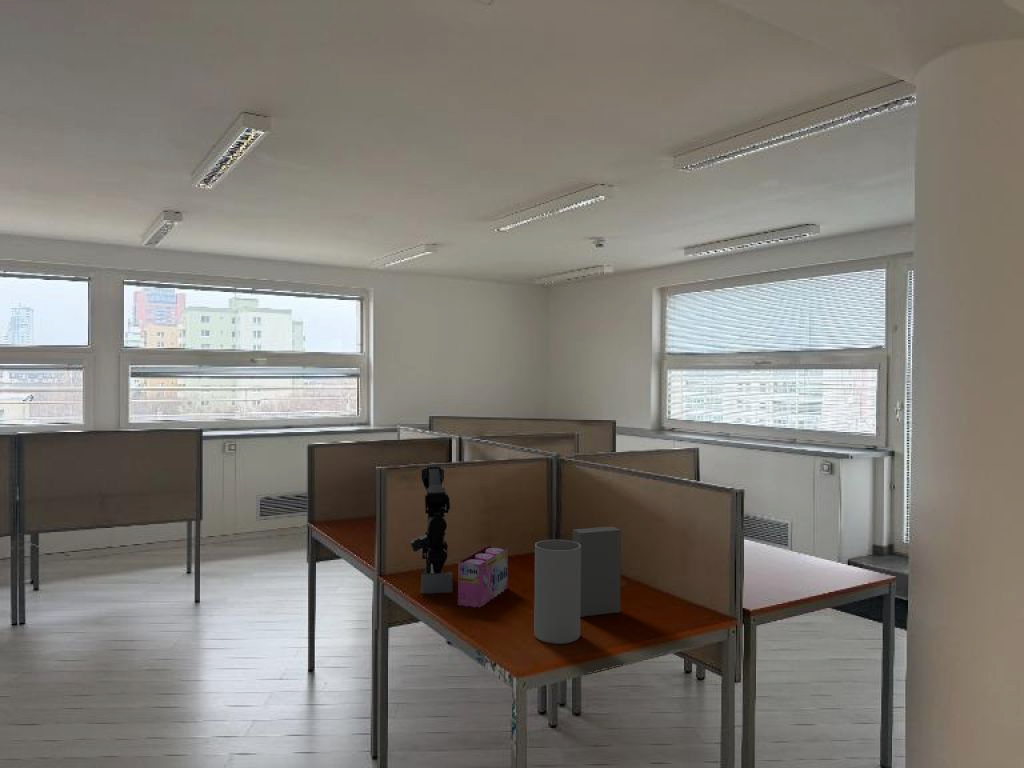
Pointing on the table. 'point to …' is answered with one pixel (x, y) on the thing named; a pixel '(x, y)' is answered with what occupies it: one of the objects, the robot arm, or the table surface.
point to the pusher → (436, 582)
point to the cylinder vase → (557, 591)
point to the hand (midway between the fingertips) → (435, 574)
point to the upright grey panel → (599, 570)
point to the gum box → (482, 576)
